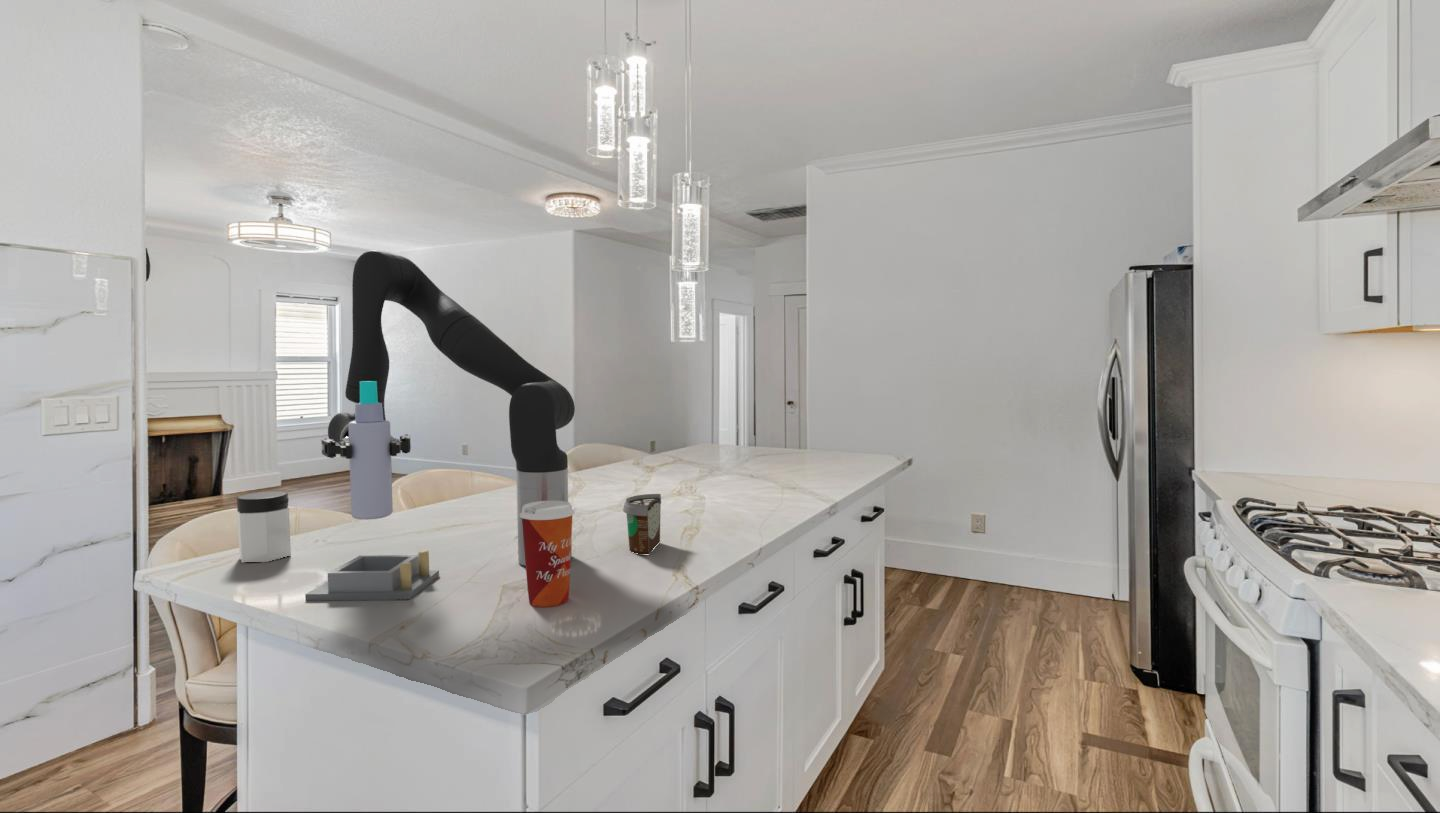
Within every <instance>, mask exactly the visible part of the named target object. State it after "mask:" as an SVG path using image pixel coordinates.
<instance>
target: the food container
mask: <svg viewBox="0 0 1440 813" xmlns="http://www.w3.org/2000/svg"><path fill="white" fill-rule="evenodd" d="M661 504H662V494H661V493H648V494H647V493H646V494H639V495H638V494H637V495H633V496H628V497H627V498H626V499H625V502H624V504H623V508H622V509H623V510H622V512H623V513H625V514H626V522H627V523H626V525H627V534H628V535H627V536H628V548H629V552H630V551H631V552H630V553H632V552H634V553H638V554H650V553H651V551H652V550H653V548H654V547H655V546H656V545H657V544H658V543H659V542H660V543H661ZM634 553H633V554H634ZM638 554H637V555H638ZM651 554H652V553H651ZM651 554H650V555H651Z"/></svg>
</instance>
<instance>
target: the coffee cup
mask: <svg viewBox="0 0 1440 813" xmlns="http://www.w3.org/2000/svg"><path fill="white" fill-rule="evenodd" d="M575 512H576V511H575V510H574V509H573V507H572V504H571V503H570V502H569V501H568V502H565V501H538V502H532V503H528V504H525V505H524V506H523V507H522V512H521V513H520V515H519V516H520V517H521V518H522V526H523V538H524V551H525V563H526V566H525V573H526V584H527V585H526V586H527V596H528V602H529V605H530V606H533V607H537V608H552V607H558V606H562V605H564V604H566V603H567V602H568V601H569V597H570V596H569V595H570V584H571V583H570V581H571V560H572V559H571V558H572V556H571V537H572V532H573V516H574V515H575V514H576V513H575ZM565 602H566V603H565ZM561 604H562V605H561Z"/></svg>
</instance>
